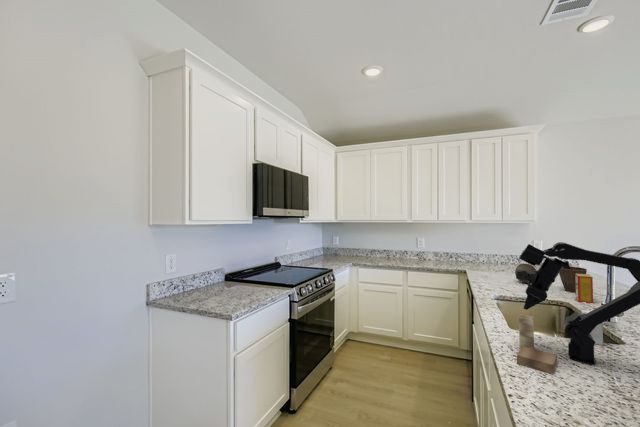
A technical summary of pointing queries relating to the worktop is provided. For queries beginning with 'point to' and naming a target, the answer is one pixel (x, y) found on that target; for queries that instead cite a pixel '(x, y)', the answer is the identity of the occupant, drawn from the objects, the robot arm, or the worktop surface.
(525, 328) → the ash block
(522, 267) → the cantaloupe
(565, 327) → the robot arm
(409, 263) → the worktop surface
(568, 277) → the plant pot
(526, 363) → the walnut block
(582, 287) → the baking soda box
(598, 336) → the skincare box
